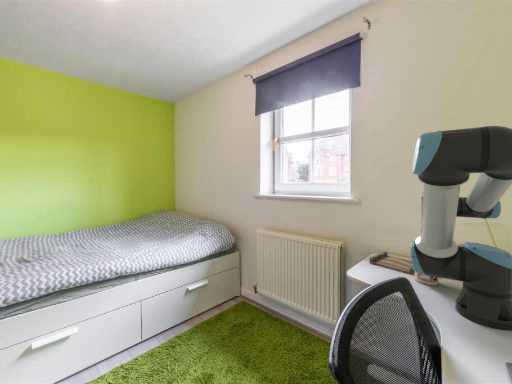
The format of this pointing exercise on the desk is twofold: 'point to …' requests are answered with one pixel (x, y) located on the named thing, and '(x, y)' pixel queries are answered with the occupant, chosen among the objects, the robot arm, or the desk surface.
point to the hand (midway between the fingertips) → (430, 274)
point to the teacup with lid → (425, 281)
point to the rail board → (393, 263)
